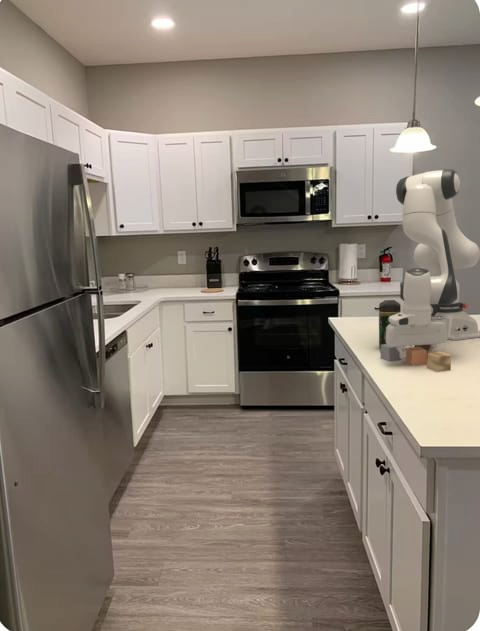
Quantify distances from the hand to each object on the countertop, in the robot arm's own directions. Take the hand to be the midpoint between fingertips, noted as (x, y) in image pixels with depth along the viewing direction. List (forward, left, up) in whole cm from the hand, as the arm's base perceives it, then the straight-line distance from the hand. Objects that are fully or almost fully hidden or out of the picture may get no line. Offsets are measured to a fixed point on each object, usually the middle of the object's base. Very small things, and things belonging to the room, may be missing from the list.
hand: (416, 357), depth 164 cm
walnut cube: (-6, -7, -2) cm, 9 cm away
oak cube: (-4, +8, -2) cm, 9 cm away
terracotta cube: (0, 0, -2) cm, 2 cm away
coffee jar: (+1, -21, -2) cm, 21 cm away
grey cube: (+6, -7, -2) cm, 9 cm away
